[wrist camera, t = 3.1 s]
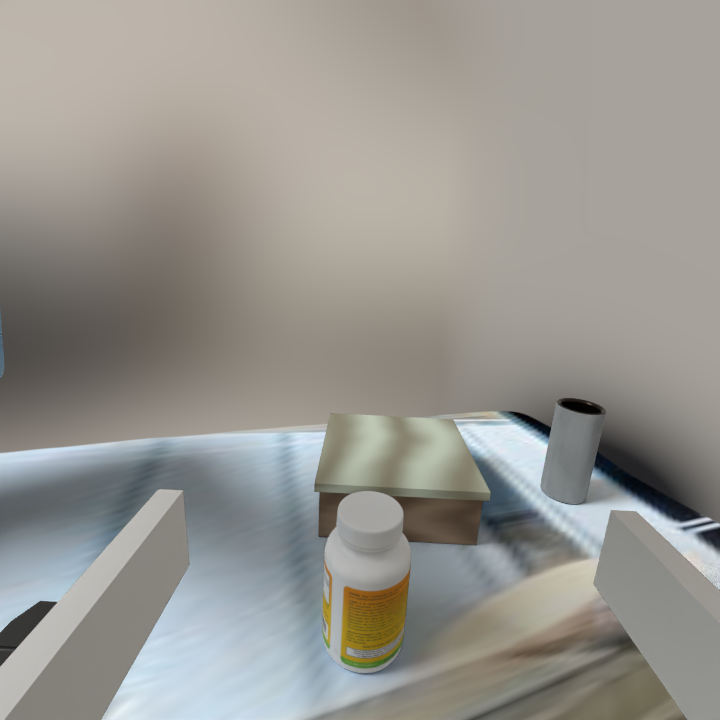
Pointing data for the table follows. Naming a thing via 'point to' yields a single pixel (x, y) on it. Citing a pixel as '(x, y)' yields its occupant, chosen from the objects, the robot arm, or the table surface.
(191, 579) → the table surface
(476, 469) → the podium
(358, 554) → the supplement bottle
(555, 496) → the grey hollow cylinder
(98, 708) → the robot arm
